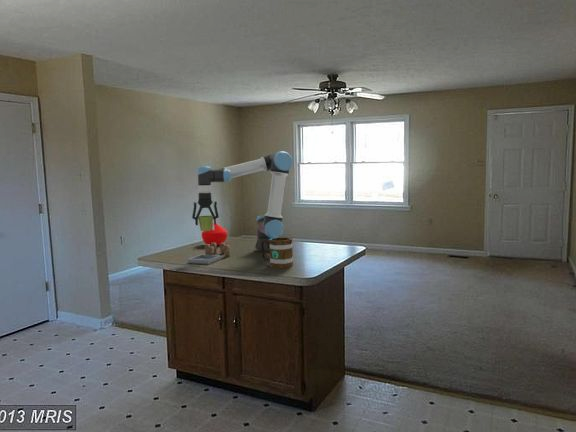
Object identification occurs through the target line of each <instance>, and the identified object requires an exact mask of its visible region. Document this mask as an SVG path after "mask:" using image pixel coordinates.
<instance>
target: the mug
mask: <svg viewBox="0 0 576 432" xmlns="http://www.w3.org/2000/svg"><path fill="white" fill-rule="evenodd" d="M264 242H266V243H267V244H268V245H270V252H268V253H269V254H268V255H269V257H268V258H267V257H266V252H264ZM261 248H262V252H261V256H262V259H263V260H264V261H270V262H269V267H270V268H274V269H288V268H292V267H293V266H294V259H293V258H294V257H293V256H294V251H293V237H285V236H282V237H280V236H279V237H277V238H270V239H269V241H267V240H263V241H262V243H261Z"/></svg>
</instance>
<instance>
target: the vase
mask: <svg viewBox="0 0 576 432" xmlns="http://www.w3.org/2000/svg"><path fill="white" fill-rule="evenodd" d="M227 238H228V231H227V229H225V228H223V227H222V226H221V225H219V224H218V223H217V222H216V224H214V230H212V226H211V230H210V231H201V239H202V241H203V243H205V244H210V247H211V243H216V247H218V246H220V243H226V241H227Z"/></svg>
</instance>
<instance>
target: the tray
mask: <svg viewBox="0 0 576 432" xmlns="http://www.w3.org/2000/svg"><path fill="white" fill-rule="evenodd" d="M221 260H222V255H221V254H220V255H219V254H218V255H217V254H214V255H205V254H202V253H201V254H198V255H195V256H192V257H189V258H188V259H187V263H188V264H195V265H196V264H197V265H212V264H214V263H216V262H218V261H221Z"/></svg>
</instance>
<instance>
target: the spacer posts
mask: <svg viewBox="0 0 576 432" xmlns="http://www.w3.org/2000/svg"><path fill="white" fill-rule="evenodd" d="M219 246H220V247H219V248H220V249H219V250H220V255H223V256H224V258H230V254H231V253H230V245H229V244H226V242H224V243H220V245H219ZM217 253H218V252H217V246H216V243H211V246H210V244H206V243H205V244H204V255H217Z"/></svg>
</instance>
